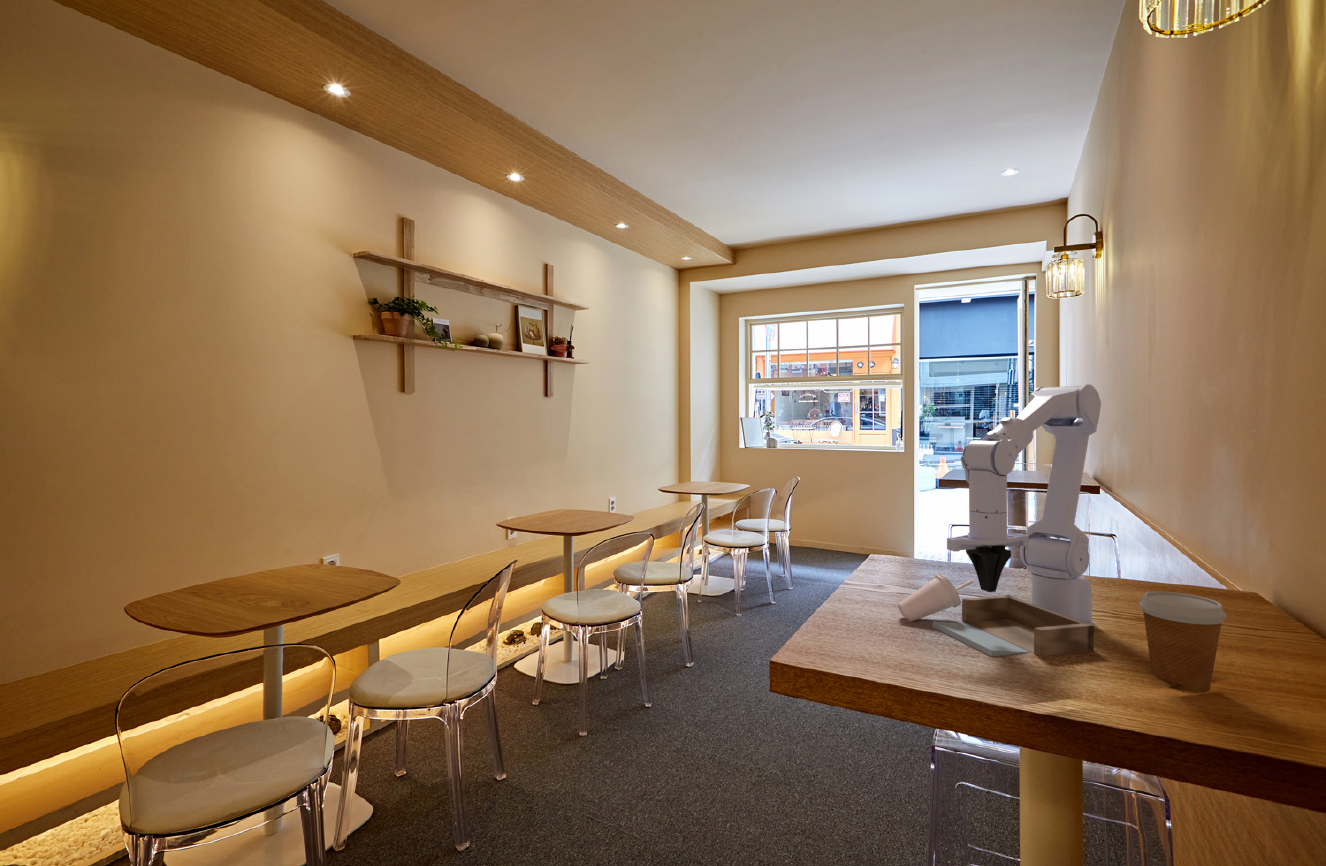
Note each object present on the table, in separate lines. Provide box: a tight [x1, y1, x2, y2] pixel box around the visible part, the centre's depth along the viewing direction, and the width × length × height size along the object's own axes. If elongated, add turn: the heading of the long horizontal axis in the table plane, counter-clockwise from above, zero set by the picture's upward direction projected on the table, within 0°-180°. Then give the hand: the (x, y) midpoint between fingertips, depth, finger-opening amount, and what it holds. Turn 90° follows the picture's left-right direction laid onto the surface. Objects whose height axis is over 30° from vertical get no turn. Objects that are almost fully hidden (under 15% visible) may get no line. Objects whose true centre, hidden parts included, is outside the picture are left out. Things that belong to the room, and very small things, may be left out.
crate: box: [961, 594, 1095, 657], centre depth 106 cm, size 10×18×5 cm, turn 12°
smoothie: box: [897, 573, 974, 622], centre depth 115 cm, size 6×6×14 cm
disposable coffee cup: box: [1138, 591, 1227, 694], centre depth 88 cm, size 10×10×12 cm
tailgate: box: [931, 621, 1031, 657], centre depth 104 cm, size 1×14×7 cm
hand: (988, 590), depth 106 cm, fingers closed
